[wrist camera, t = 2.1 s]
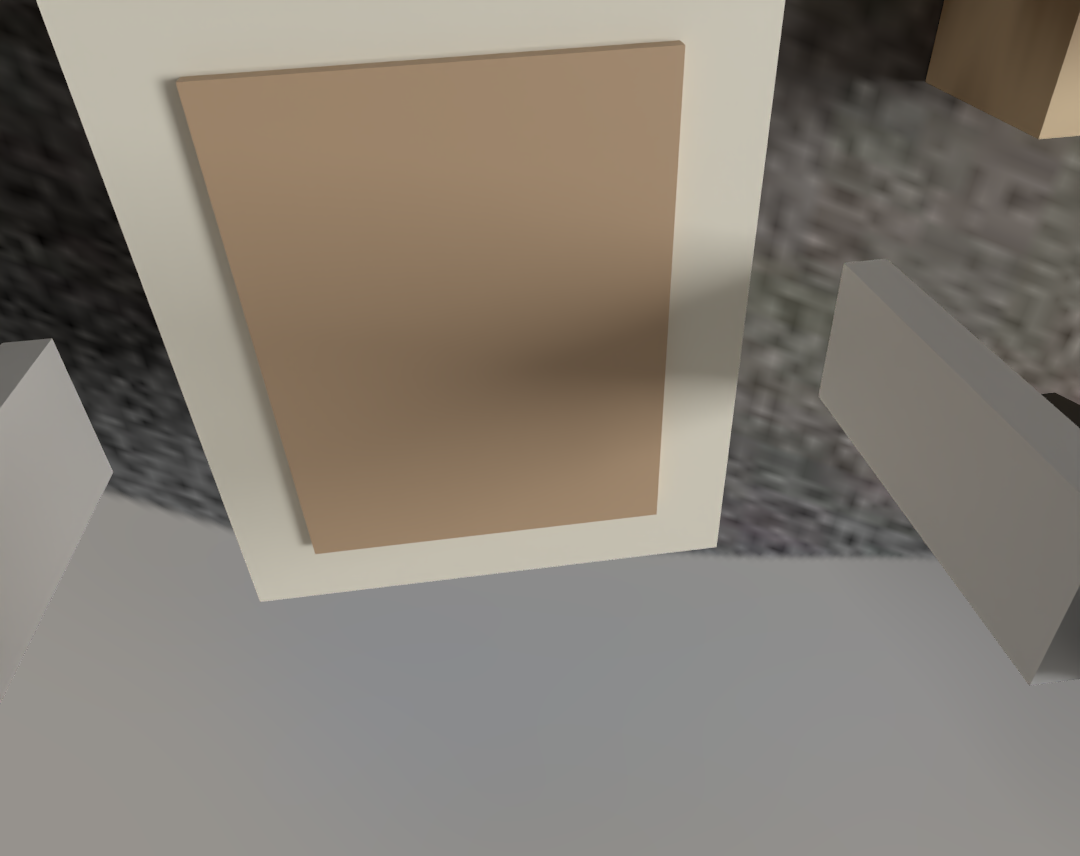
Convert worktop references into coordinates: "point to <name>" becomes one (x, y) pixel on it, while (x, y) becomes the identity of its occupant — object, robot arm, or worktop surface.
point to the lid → (440, 264)
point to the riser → (1012, 61)
